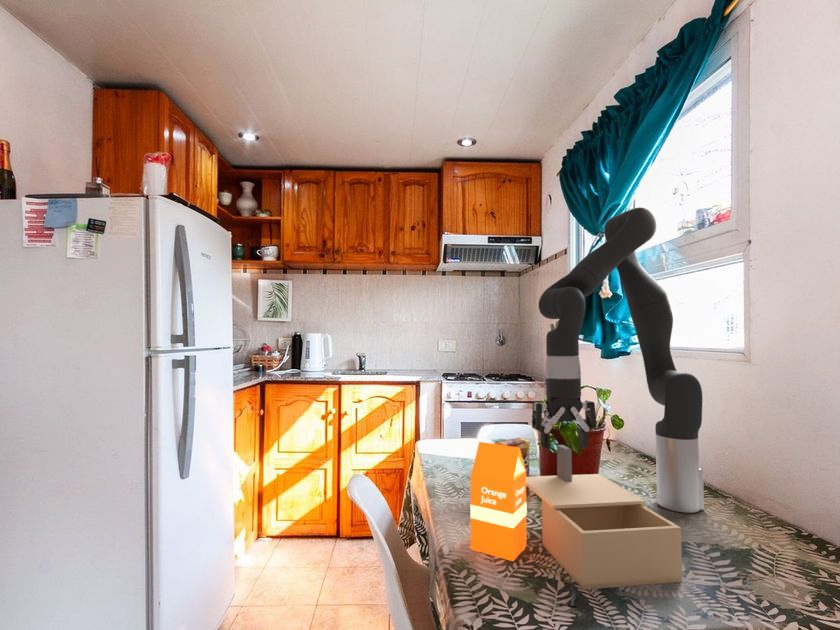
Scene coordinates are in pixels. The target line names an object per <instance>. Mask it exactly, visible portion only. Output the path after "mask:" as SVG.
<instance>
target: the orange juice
mask: <svg viewBox="0 0 840 630" xmlns="http://www.w3.org/2000/svg"><path fill="white" fill-rule="evenodd" d="M475 453H476V454H475V458H474V462H473V465H472V470H471V473H470V550H473V551H476V552H479V553H483V554H486V555H490V556H493V557H496V558H500V559H504V560H507V561H511V562H514V561H515V560H516V559H517V558H518V556H519V555H520V554H521V553H522V552H523V550H524V549H525V548H526V547H527V514H528V513H527V512H528V511H527V501H526V470H525V466H524V462H523V459H522V455H521V452H520V448H519V447H512V446H505V445H498V444H495V443H490V442H482V441H479V442H478V445H477V451H476V452H475Z"/></svg>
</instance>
